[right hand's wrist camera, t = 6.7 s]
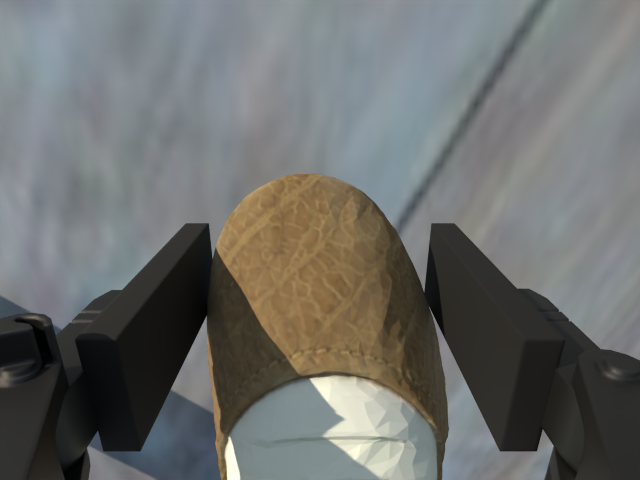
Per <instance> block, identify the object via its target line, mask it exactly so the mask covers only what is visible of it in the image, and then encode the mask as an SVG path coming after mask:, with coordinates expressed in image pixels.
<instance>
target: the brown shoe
mask: <svg viewBox="0 0 640 480" xmlns="http://www.w3.org/2000/svg"><path fill="white" fill-rule="evenodd" d="M207 346H208V363H209V372H210V376H211V388H212V395H213V402H214V423H215V429H216V442H215V445H216V450H217V454H218V464H219V470H220V476H221V480H442V462H443V459H444V453H445V442H446V439H447V437H448V431H449V427H448V407H447V397H446V391H445V376H444V372H443V368H442V361H441V356H440V351H439V343H438V337H437V333H436V329H435V324H434V321H433V317H432V314H431V311H430V309H429V305H428V302H427V300H426V297H425V294H424V291H423V288H422V285H421V282H420V280H419V277H418V275H417V272H416V270H415V268H414V265H413V263H412V261H411V259H410V257H409V255H408V253H407V251H406V249H405V247H404V245H403V243H402V241H401V239H400V237H399V235H398V233H397V232H396V230H395V229H394V228H393V226H392V225H391V224H390V222H389V221H388V220H387V218H386V217H385V215H384V213H383V212H382V211H381V210H380V209H379V207H378V206H377V205H376V203H375V202H374V201H372V200H371V199H370V198H369V197H368V196H367V195H366V194H365V193H363V192H362V191H361V190H359V189H357V188H355V187H354V186H352V185H350V184H348V183H345V182H343V181H341V180H338V179H336V178H333V177H328V176H324V175H318V174H298V175H286V176H284V177H282V178H279V179H276V180H273V181H271V182H269V183H267V184H265V185H263V186H261V187H260V188H258V189H256V190H255V191H253V192H252V193H250V194H249V195H248V196H246V197H245V198H244V199H243V200H242V201H241V203H240V204H239V205H238V206H237V208H236V209H235V210H234V211H233V212H232V213H231V214H230V216H229V217H228V219H227V221H226V223H225V225H224V228H223V230H222V232H221V234H220V237H219V239H218V242H217V245H216V248H215V252H214V256H213V261H212V267H211V274H210V282H209V291H208V299H207Z"/></svg>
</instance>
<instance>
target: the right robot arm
mask: <svg viewBox="0 0 640 480" xmlns="http://www.w3.org/2000/svg"><path fill="white" fill-rule="evenodd" d="M212 261H213V260H212V250H211V241H210V231H209V223H186V224H185V225H184V226H183V227H182V228H181V229H180V230H179V231H178V232H177V233H176V234H175V235H174V236H173V238H172V239H171V240H170V241H169V242H168V243H167V244H166V245H165V246H164V247H163V248H162V249H161V250H160V251H159V252H158V253H157V254H156V255H155V256H154V257H153V258H152V259H151V260H150V262H149V263H148V264H147V265H146V266H145V267H144V268H143V269H142V270H141V271H140V272H139V273H138V274H137V275H136V276H135V277H134V278H133V279H132V280H131V281H130V282H129V283H128V284H127V286H126V287H125V288H124V289H123V290H111V291H109V292H107V293H105V294H104V295H102V296H100V297H98V298H96V299H94V300H93V301H92V302H91V303H90V304H89V305H88V306H87V307H86V308H85V309H84V310H83V311H82V313H79V314H78V315H77V316H76V317H75V318H74V319H73V320H72V323H69V324H68V325H67V326H66V327H65V328H64V329H63V330H62V331H61V332H60V333H59V334H57V335H55V332H54V328H53V324H52V321H51V318H49V317H47V316H46V315H44V314H36V313H28V314H18V315H13V316H9V317H5V318H1V319H0V480H88V478H89V472H90V459H89V454H88V451H87V446H88V445H89V443H90V442H91V440H92V439H93V437H94V436H95V434H96V432H97V431H98V432H99V436H100V440H101V443H102V447H103V451H141V449H142V447H143V445H144V443H145V441H146V438H147V436H148V434H149V432H150V430H151V428H152V426H153V424H154V422H155V420H156V418H157V416H158V414H159V412H160V410H161V408H162V406H163V404H164V402H165V400H166V398H167V396H168V393H169V391H170V389H171V387H172V385H173V383H174V381H175V379H176V377H177V375H178V373H179V371H180V369H181V367H182V365H183V363H184V361H185V359H186V357H187V355H188V353H189V350H190V348H191V346H192V344H193V342H194V340H195V338H196V336H197V334H198V332H199V330H200V328H201V326H202V324H203V322H204V320H205V318H206V316H207V299H208V291H209V282H210V274H211V267H212ZM424 294H425V297H426V300H427V302H428V305H429V307H430V309H431V311H432V313H433V315H434V317H435V319H436V321H437V323H438V325H439V327H440V329H441V331H442V334H443V336H444V338H445V340H446V342H447V344H448V346H449V348H450V350H451V352H452V354H453V356H454V358H455V360H456V362H457V364H458V366H459V368H460V370H461V372H462V374H463V376H464V379H465V381H466V383H467V385H468V387H469V389H470V391H471V393H472V395H473V397H474V399H475V401H476V403H477V405H478V407H479V409H480V411H481V413H482V415H483V417H484V419H485V421H486V424H487V426H488V428H489V430H490V432H491V434H492V436H493V438H494V440H495V442H496V444H497V446H498V448H499V450H500V451H537V449H538V445H539V441H540V437H541V433H542V429H543V430H544V431H545V433H546V434H547V436H548V437H549V439H550V441H551V442H552V444H553V445H554V447H553V451H552V454H551V458H550V462H549V465H548V469H547V472H546V476H545V480H640V360H637V359H635V358H633V357H631V356H629V355H626V354H622V353H619V352H615V351H612V350H603V349H600V348H599V347H598V346H597V345H596V344H594V343H593V342H592V341H591V340H590V339H589V338H588V337H587V336H586V335H585V334H584V333H583V332H582V331H581V330H580V329H579V328H578V327H577V326H575V325H574V324H573V323H572V322H571V321H569V319H568V318H567V317H566V316H565V315H564V314H563V313H562V312H559V309H558V308H556V307H555V306H554V305H553V304H552V303H551V302H550V301H549V300H548V299H547V298H545V297H543V296H541V295H540V294H538V293H536V292H534V291H532V290H530V289H517V288H516V287H515V286H514V285H513V284H512V283H511V282H510V281H509V280H508V279H507V278H506V277H505V276H504V275H503V274H502V273H501V272H500V271H499V270H498V268H497V267H496V266H495V265H494V264H493V263H492V262H491V261H490V260H489V259H488V258H487V257H486V256H485V255H484V254H483V253H482V252H481V251H480V250H479V249H478V248H477V247H476V246H475V244H474V243H473V242H472V241H471V240H470V239H469V238H468V237H467V236H466V235H465V234H464V233H463V232H462V231H461V230H460V229H459V228H458V227H457V226H456V225H455V224H454V223H432V225H431V234H430V244H429V253H428V263H427V272H426V282H425V292H424Z"/></svg>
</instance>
